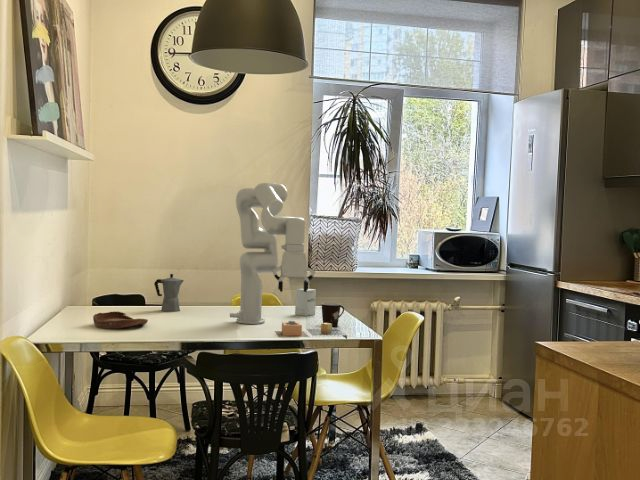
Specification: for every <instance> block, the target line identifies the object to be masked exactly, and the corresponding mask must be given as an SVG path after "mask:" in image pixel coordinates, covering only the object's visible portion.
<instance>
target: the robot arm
mask: <svg viewBox="0 0 640 480" xmlns="http://www.w3.org/2000/svg"><path fill="white" fill-rule="evenodd" d="M287 197H288V190H287V188H286V186H285V185H283V184H281V183H273V182H271V183H270V182H261V183H259V184H257V185H256V186H255V187H254V188H251V187H250V188H248V187H247V188H246V187H245V188H243V189H240V190H238V192H237V193H236V197H235V206H236V207H235V208H236V211H237V214H238V217H239V221H240V223H239V225H240V237H241V238H240V239H241V244H242V247H243V248H245V249H247V250H263V251H246V252H244V253H242V254H241V255H240V257H239V269H240V281H241V282H240V307H239V308H240V309H239V311H238V312H235V313H234V312H230V313H229V318H234V319H235V318H236V320H235V321H236V323H238V324H245V325H246V324H247V325H259V324H260V325H261V324H264V323H265V322H266V321H265V319H264V318H262V306H263V304H262V302H263V281H262V280H261V279H262V278H261V277H260V276H259V274H273V277H274V278H275V279H276V280H277V281H278V284H277V285H278V287H277V288H278V290H279V291H280V293H282V292H283V290H284V288H283V287H284V285H283V284H284V282H283V280H284V279H285V278H302V279H303V280H304V281H303V289H304V292H307V290H308V289H309V282H310V281H311V280H312V279H313V278H314V276H315V274H316V271H315V270H314V269H312V268H310V267H309V266H308V259H307V257H308V256H307V253H306V251H305V232H306V231H305V228H306V227H305V226H306V221H305V219H304V218H303V217H296V216H284V215H283V216H282V215H281V216H280V215H279V214H280V212H282V210H283V208H284V203H285V202H286V200H287ZM253 208H257V209H258V208H260V209H261V211H260V212H261V214H260V218H259V215H258V214H257V213H256V211H255V210H254V209H253ZM277 215H279V216H277ZM260 222H261V225H262V227H263V228H262V227H260ZM277 236H284V237H285V241H284V242H285V243H284V244H283V245H281V246H280V247H281V248H280V249H282V250H284V251H283V252H282V257H281V263H280V265H279V256H278V255H279V254H278V252H279V251H278V242H277ZM279 271H280V276H279V275H278V273H277V272H279ZM308 272H309V273H310V275H308Z"/></svg>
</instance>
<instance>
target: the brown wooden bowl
mask: <svg viewBox="0 0 640 480" xmlns="http://www.w3.org/2000/svg"><path fill="white" fill-rule="evenodd" d="M92 318H93V324H94V325H95V327H96V328H100V329H121V328H128V327H132V326H137V325H139V326H145V325H146V324H147V323H148V321H149V319H148V318H147V319H146V318H132V317H131V316H129V315H127V314H126V313H125V312H122V311H109V312H99V313H95V314H94V315H93V317H92Z"/></svg>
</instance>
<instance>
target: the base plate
mask: <svg viewBox="0 0 640 480" xmlns="http://www.w3.org/2000/svg"><path fill="white" fill-rule="evenodd" d="M306 330H307V331H308V332H309V334H310V335H312V336H342V337H343V338H345V339H346V340H347V339H348V335H347V334H346V333H345V332H344V331H342V330H341V329H339V328H336V329H335V328H332V324H331V323H323V322H322V323H320V328H317V329H316V328H306Z"/></svg>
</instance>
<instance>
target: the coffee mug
mask: <svg viewBox="0 0 640 480" xmlns="http://www.w3.org/2000/svg"><path fill="white" fill-rule="evenodd" d="M320 306H321V316H322V317H321V318H322V323H331V324H332V327H335V328H338V325H339V319H340V317H342V315H343V314H344V311H345V307H344V306H342V304H341V303H337V302H322V303H321V305H320ZM341 309H342V312H341Z"/></svg>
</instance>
